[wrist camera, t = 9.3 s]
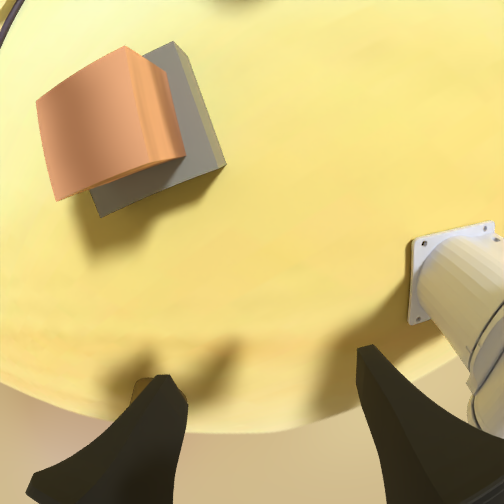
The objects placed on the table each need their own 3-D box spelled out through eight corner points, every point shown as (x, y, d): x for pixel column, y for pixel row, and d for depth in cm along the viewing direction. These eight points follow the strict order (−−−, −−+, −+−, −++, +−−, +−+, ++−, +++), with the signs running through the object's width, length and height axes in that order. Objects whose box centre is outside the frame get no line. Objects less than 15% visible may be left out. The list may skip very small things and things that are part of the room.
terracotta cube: (166, 72, 12) (124, 45, 7) (186, 155, 14) (149, 162, 9) (91, 106, 12) (36, 101, 8) (109, 182, 14) (56, 201, 9)
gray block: (189, 57, 14) (173, 41, 11) (227, 164, 17) (218, 168, 14) (92, 109, 15) (63, 106, 12) (125, 205, 18) (100, 218, 15)
